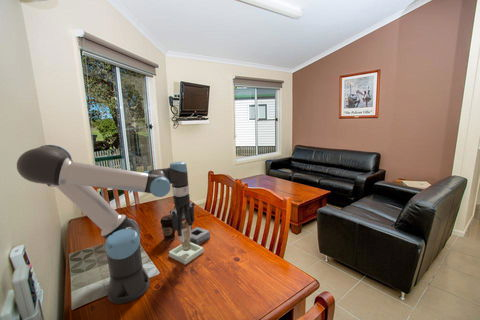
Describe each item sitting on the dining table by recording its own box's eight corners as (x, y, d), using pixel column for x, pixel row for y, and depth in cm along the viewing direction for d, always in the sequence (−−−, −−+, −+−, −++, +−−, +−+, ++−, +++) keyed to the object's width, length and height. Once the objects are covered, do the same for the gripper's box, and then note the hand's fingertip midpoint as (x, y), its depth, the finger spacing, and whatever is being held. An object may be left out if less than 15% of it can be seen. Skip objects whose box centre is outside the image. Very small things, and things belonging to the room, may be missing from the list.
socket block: (196, 245, 122) (196, 239, 121) (184, 240, 127) (183, 233, 127) (209, 237, 130) (209, 231, 129) (197, 232, 135) (197, 226, 135)
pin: (186, 252, 111) (183, 225, 109) (180, 249, 114) (178, 223, 111) (192, 248, 115) (189, 222, 112) (186, 245, 117) (184, 220, 114)
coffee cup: (172, 243, 125) (170, 221, 123) (159, 242, 127) (156, 220, 125) (180, 235, 134) (178, 214, 131) (167, 234, 135) (164, 213, 133)
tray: (185, 264, 106) (184, 260, 106) (169, 256, 113) (168, 251, 113) (203, 252, 116) (203, 247, 116) (187, 244, 123) (187, 240, 123)
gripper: (171, 201, 100) (176, 249, 104) (199, 190, 113) (203, 233, 118) (161, 198, 104) (166, 245, 109) (189, 188, 118) (193, 230, 122)
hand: (185, 239), depth 113 cm, fingers closed on pin, 4 cm apart
